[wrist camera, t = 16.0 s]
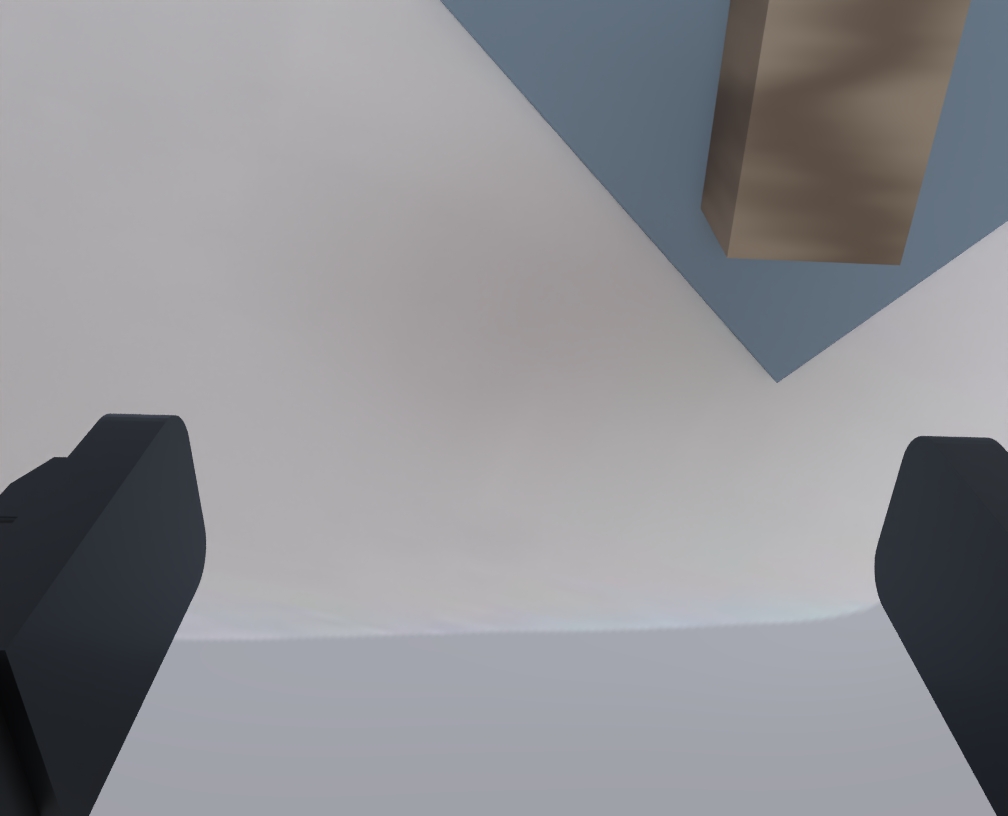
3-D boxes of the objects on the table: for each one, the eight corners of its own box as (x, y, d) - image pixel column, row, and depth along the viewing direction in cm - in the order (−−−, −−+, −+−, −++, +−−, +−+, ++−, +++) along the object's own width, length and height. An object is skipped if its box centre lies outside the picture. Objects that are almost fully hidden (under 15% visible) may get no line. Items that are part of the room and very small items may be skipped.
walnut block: (726, 258, 25) (793, -149, 20) (700, 208, 30) (749, -137, 25) (900, 265, 25) (1008, -142, 20) (848, 214, 30) (926, -131, 25)
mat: (395, -55, 27) (391, -55, 26) (849, -571, 21) (856, -584, 20) (773, 375, 33) (776, 382, 33) (1197, 74, 27) (1210, 78, 27)
